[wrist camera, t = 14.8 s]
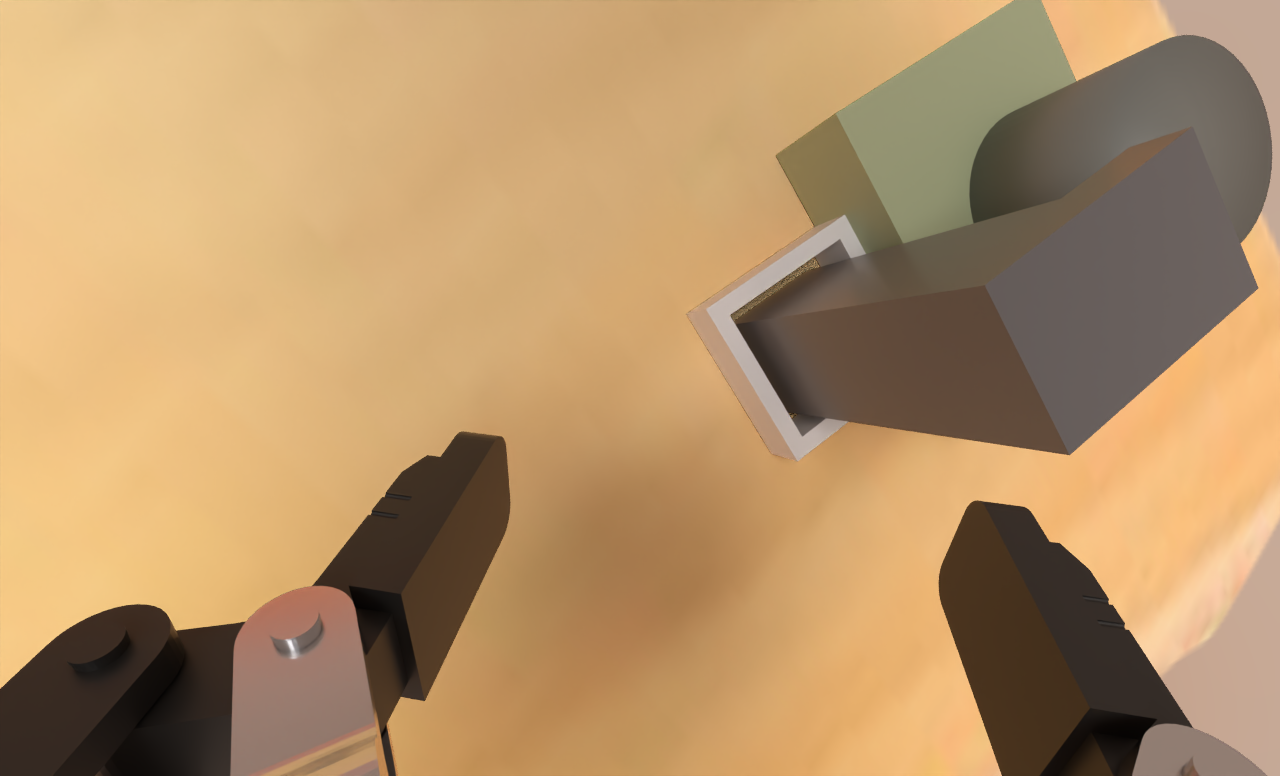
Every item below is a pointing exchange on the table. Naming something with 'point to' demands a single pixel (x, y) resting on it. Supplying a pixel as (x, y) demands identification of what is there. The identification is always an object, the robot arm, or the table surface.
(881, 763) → the table surface
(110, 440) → the table surface
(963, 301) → the dark grey angled block
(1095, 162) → the green block with cylinder
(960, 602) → the robot arm
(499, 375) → the table surface
